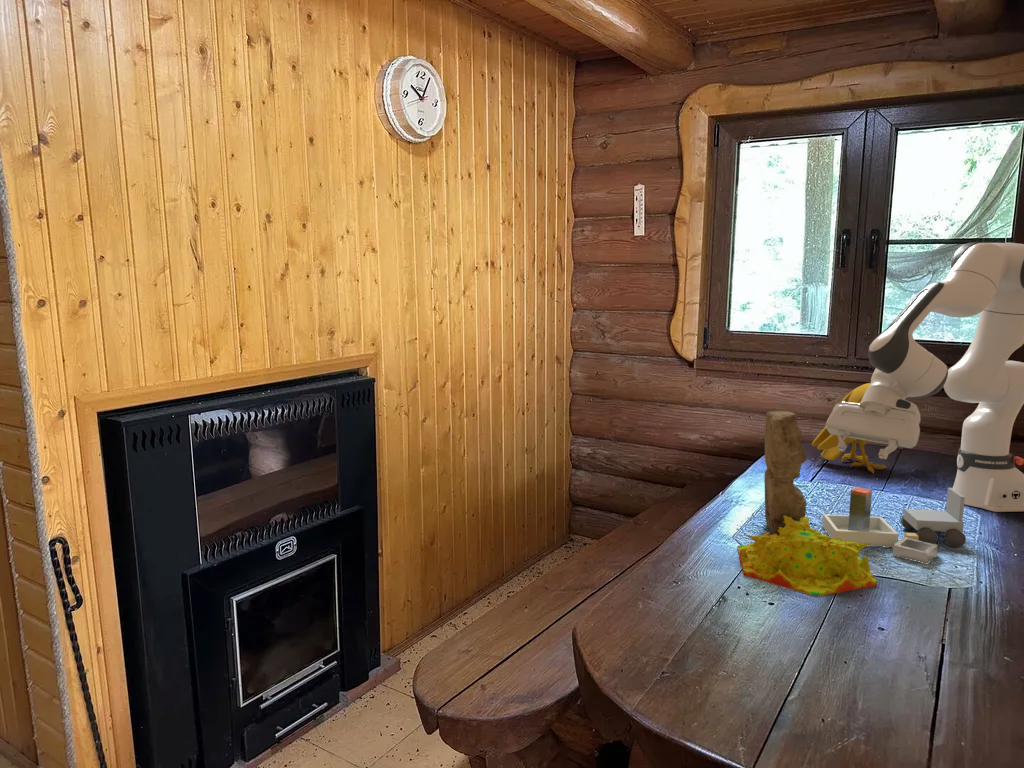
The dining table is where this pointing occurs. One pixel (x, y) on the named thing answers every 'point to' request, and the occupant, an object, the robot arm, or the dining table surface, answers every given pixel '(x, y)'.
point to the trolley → (938, 521)
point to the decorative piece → (806, 560)
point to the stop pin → (860, 509)
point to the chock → (911, 536)
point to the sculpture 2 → (831, 441)
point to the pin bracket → (915, 550)
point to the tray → (876, 535)
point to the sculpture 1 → (783, 469)
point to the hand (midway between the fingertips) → (860, 453)
